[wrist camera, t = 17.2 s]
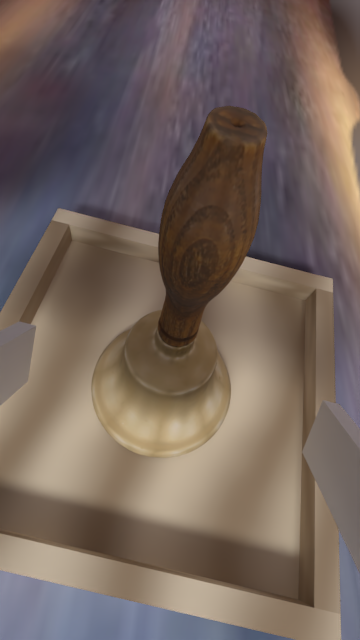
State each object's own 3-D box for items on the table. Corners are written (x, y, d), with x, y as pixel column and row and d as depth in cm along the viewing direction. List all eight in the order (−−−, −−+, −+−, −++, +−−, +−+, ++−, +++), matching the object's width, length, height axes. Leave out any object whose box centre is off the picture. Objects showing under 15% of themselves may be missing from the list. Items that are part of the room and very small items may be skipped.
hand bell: (76, 343, 21) (-17, 28, 7) (198, 310, 23) (304, 25, 10) (114, 482, 18) (75, 390, 4) (252, 427, 20) (533, 248, 6)
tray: (-94, 536, 16) (-127, 540, 14) (63, 231, 26) (58, 208, 24) (314, 632, 17) (341, 650, 14) (316, 297, 27) (332, 279, 24)
